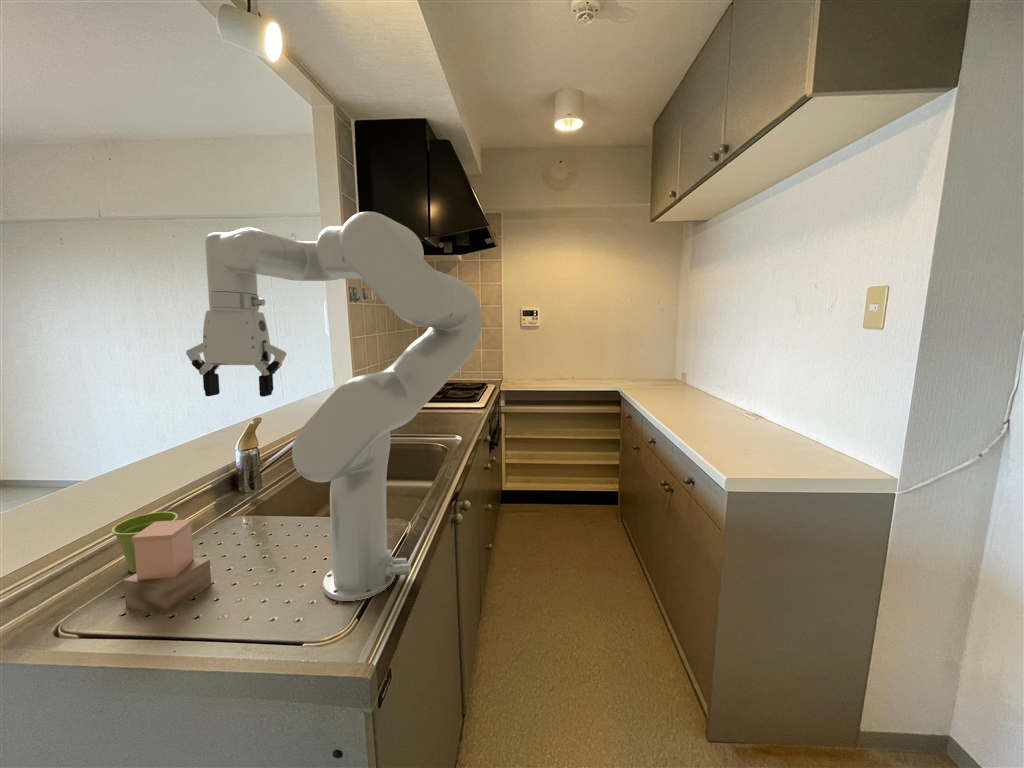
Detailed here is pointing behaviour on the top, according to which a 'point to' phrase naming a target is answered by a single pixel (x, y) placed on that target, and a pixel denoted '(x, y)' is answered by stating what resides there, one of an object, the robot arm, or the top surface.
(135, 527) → the plant pot
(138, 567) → the peach lipped block
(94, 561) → the top surface
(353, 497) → the robot arm
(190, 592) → the walnut box
